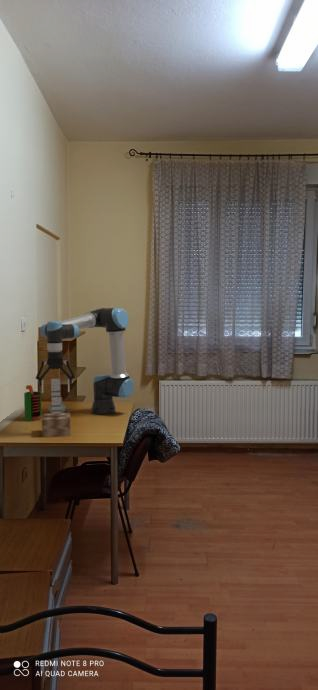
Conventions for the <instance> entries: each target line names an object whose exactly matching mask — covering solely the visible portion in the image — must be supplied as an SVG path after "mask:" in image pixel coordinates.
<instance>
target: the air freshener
mask: <svg viewBox="0 0 318 690" xmlns="http://www.w3.org/2000/svg"><path fill="white" fill-rule="evenodd" d="M60 400H61V413H66V411H67V409H68V408H67V405H66V404H64V403H63V397H62V396H60ZM51 405H52V404H50V405H49V407H48V411H49V413H50V414H51V413H52V407H51Z"/></svg>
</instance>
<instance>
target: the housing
mask: <svg viewBox="0 0 318 690" xmlns="http://www.w3.org/2000/svg"><path fill="white" fill-rule="evenodd" d="M41 433H42V435H41V437H42V438H49V437H50V438H52V437H55V438H56V437H70V436H71V412H64V413H61V417H59V415H54V417H52V413H51V412H50V413H43V414H42V416H41Z"/></svg>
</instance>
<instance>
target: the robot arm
mask: <svg viewBox="0 0 318 690" xmlns="http://www.w3.org/2000/svg"><path fill="white" fill-rule="evenodd" d="M129 323H130V318H129V315H128V312H127V311H126V310H125V309H123V308H119V307H102V308H97V309H94V310H91V311H88V312H85V313H84V314H83V315H79V316H75V317H72V318H71V317H70V318H67V319H65V320H55V321H53V320H51V321H47V322H46V323H43V324H42V325H41V326H40V328H39V329H40V330H39V331H40V335H41V337H43V338H47V339H46V340H47V341H46V343H47V345H46V347H47V360H46V361H45V360H42V361H41V363H40V368H39V370H38V372H37V374H36V376H35V380H38V381H39V387H41V394H43V393H44V386H45V385H44V377H45V376H46V375H47V373H49V371H50V370H59V369H60V370H61V372H63V374H64V375H65V376H66V377H67V378H68V379H67V393H70V391H71V390H70V386H72V384H73V382H72V380H73V379H75V378H76V375H75V374H74V371H73V370H72V367H71V365H70V361H69V359H67V360H63V340H65V339H66V340H68V339H75V338H77V337H78V336H79V335H80V330H83V329H86V328H88V329H93V328H103V329H105V332H106V333H107V334H108V337H109V338H108V339H109V351H110V363H111V373H112V374H111V373H109V374H101V375H95V376H94V377H93V401H92V406H91V408H90V413H92V414H94V415H95V414H96V415H111V414H114V413H116V411H117V410H116V405H115V402H114V399H113V397H114V398H115V397H116V398H120V399H123V398H125V399H127V398H129V397H130V396H131V395H132V394H133V392H134V390H135V383H134V380H133V379H132V378H130V374H129V373H128V372H127V363H126V348H125V339H124V338H125V337H124V333H125V332H126V328H128V326H129ZM46 364H47V365H48V367H47V368H46V369H45V371H43V369H44V367H45V366H46ZM63 365H66V367H67V369H68V371H69V373H70V374H69V373H68V371H67V370H66V369H65V368H64V367H63ZM42 371H43V373H41V372H42Z"/></svg>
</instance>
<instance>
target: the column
mask: <svg viewBox="0 0 318 690" xmlns="http://www.w3.org/2000/svg"><path fill="white" fill-rule="evenodd" d="M50 387H51V391H50V394H51V396H50V397H51V404H50V405H51V407H52V417H54V415H59V417H61V400H60V397H62V396H61V379H60V378H51V379H50Z"/></svg>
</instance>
